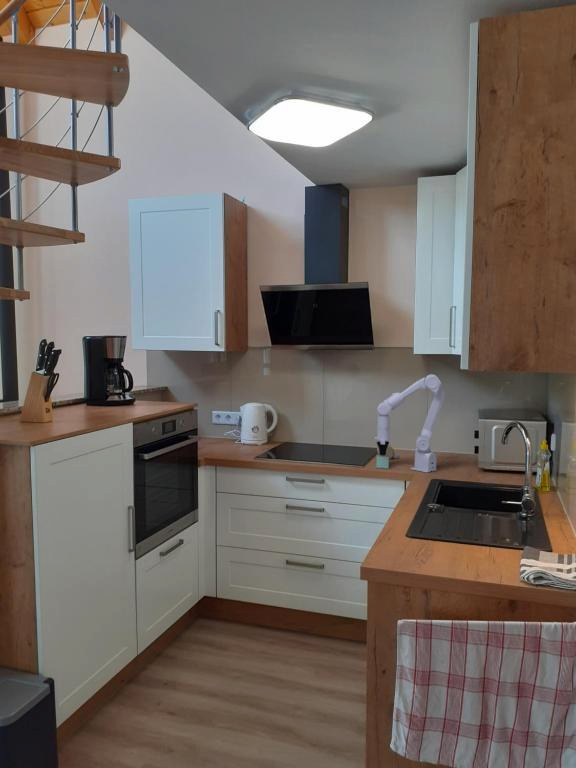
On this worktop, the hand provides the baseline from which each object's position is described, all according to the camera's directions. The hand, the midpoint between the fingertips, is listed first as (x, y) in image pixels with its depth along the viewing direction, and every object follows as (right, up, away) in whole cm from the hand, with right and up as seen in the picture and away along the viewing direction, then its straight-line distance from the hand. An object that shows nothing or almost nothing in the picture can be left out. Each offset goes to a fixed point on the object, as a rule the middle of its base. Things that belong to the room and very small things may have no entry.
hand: (382, 457), depth 281 cm
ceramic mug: (+6, -4, +23) cm, 24 cm away
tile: (0, -5, -1) cm, 5 cm away
